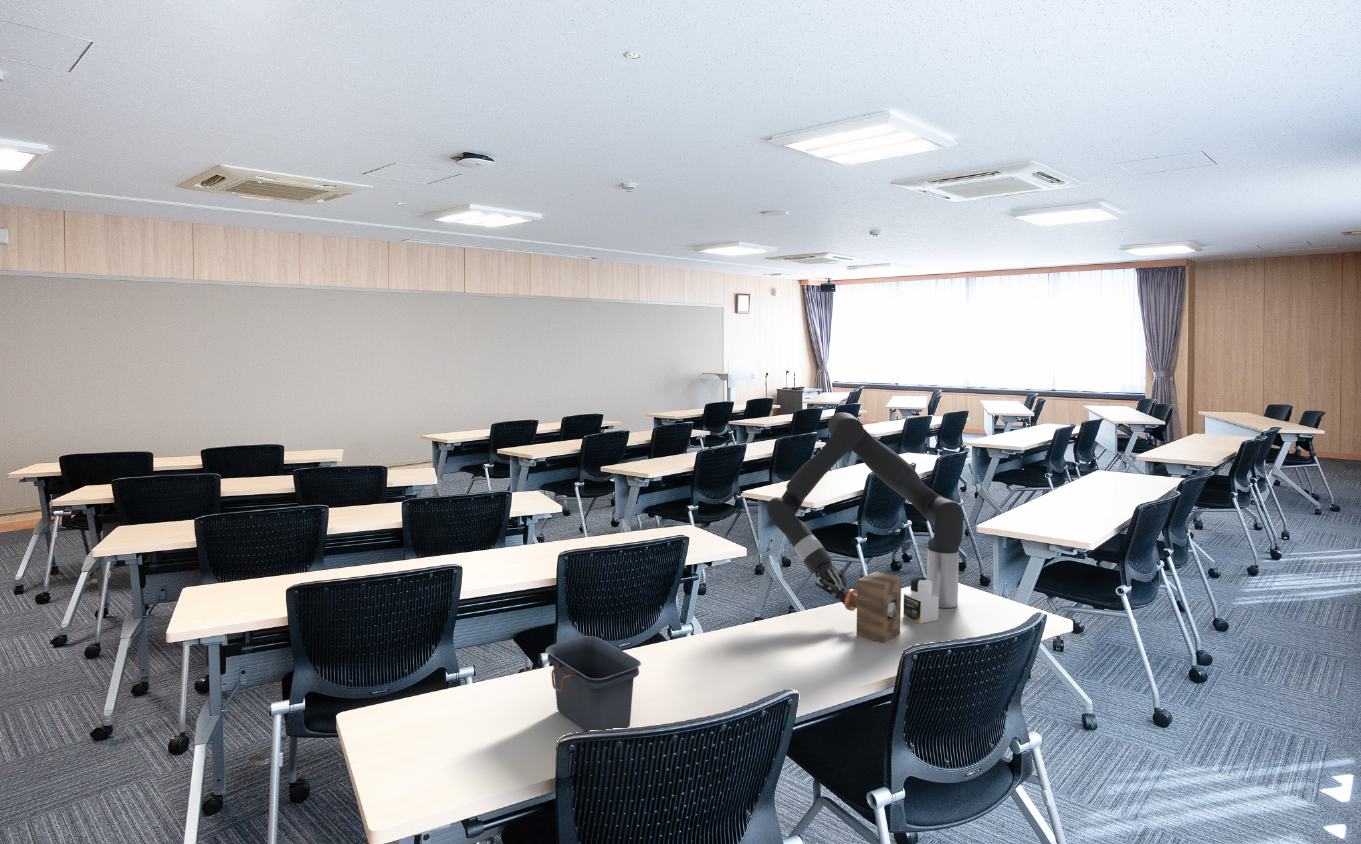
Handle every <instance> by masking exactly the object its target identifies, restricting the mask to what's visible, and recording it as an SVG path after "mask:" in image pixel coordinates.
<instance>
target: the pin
mask: <svg viewBox="0 0 1361 844" xmlns="http://www.w3.org/2000/svg"><path fill="white" fill-rule="evenodd" d="M846 592H847V593H846V596H845V605H844V607H845V609H846V610H848V611H852V612H853V611H855V610H857V589H854V588H850V589H848V590H847V591H846ZM895 612H896V604H895V603H894V602H889V603H888V616H889V617H893V616H894V614H895Z"/></svg>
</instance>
